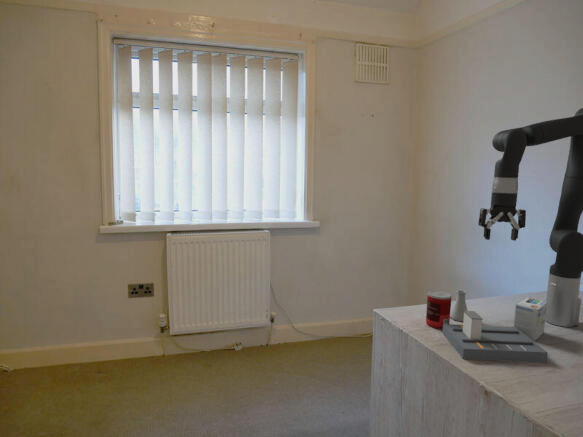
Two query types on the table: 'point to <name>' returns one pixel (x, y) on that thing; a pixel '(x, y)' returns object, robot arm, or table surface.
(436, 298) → the canned food
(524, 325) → the light bulb box
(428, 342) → the table surface
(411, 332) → the table surface
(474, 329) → the tall grey rectangular block
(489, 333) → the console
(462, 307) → the flask
